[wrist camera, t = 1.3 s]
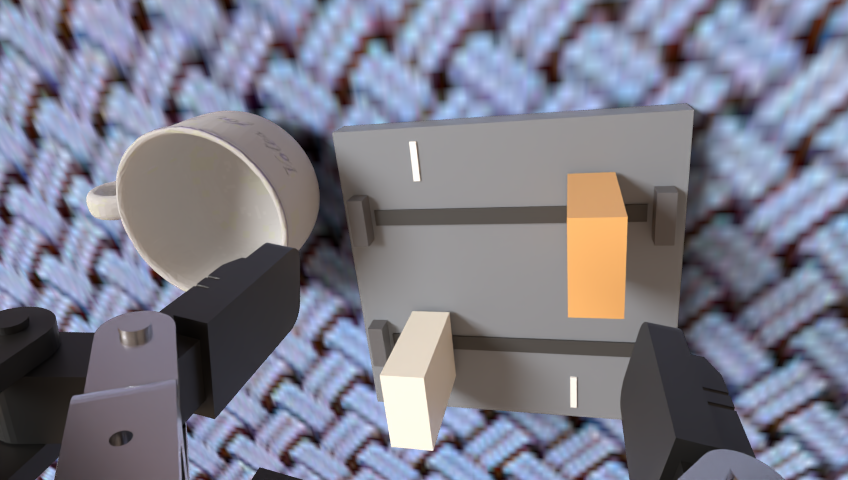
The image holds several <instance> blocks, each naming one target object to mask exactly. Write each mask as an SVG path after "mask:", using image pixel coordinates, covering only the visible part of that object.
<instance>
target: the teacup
mask: <svg viewBox="0 0 848 480" xmlns="http://www.w3.org/2000/svg"><path fill="white" fill-rule="evenodd" d="M319 202H320V194H319V185H318V181H317V177H316V173H315V171H314V168H313V166H312V164H311V162H310V160H309V158H308V156H307V155H306V153H305V152H304V150H303V149H302V147H301V146H300V145H299V144H298V143H297V141H296V140H295V139H294V138H293V137H292V136H291V135H290V134H288V133H287V132H286V131H285V130H284V129H282V128H281V127H279V126H278V125H276V124H275V123H273V122H271V121H269V120H267V119H265V118H263V117H260V116H258V115H255V114H251V113H247V112H241V111H219V112H212V113H208V114H204V115H201V116H197V117H194V118H191V119H188V120H185V121H183V122H180V123H177V124H175V125H172V126H168V127H162V128H159V129H156V130H153V131H151V132H148V133H146V134H144V135H142V136H140V137H139V138H138V139H137V140H136V141H135V142H134V143H133V144H132V145H131V146H130V147H129V148H128V149H127V150H126V152H125V153H124V155H123V157H122V158H121V162H120V164H119V167H118V171H117V178H116V181H114V182H110V183H106V184H103V185H100V186H98V187H96V188H94V189H92V190H91V191H90V192H89V193H88V195H87V205H88V208H89V211H90V212H91V214H92V215H93V216H94V217H95V218H98V219H102V220H119V219H121V220H122V223H123V226H124V228H125V230H126V232H127V234H128V236H129V238H130V239H131V241H132V242H133V245H134V247H135V248H136V249H137V251H138V252H139V254H140V255H141V257H142V258H143V259H144V260H145V261H146V263H147V264H148V265H149V266H150V267H151V268H152V269H153V270H155V271H156V272H157V273H158V274H159V275H160V276H162V277H163V278H164V279H166V280H167V281H168V282H170V283H171V284H172V285H174V286H176V287H178V288H179V289H181V290H183V291H185V292H186V291H188V290H189V289H190V288H192V287H193V286H196V285H197V283H198V282H200V281H201V280H202V279H204V278H205V277H206V278H208V275H209V274H211V273H212V272H213V271H215V270H216V269H217V268H219V267H220V266H221V265H223V264H226V263H228V262H231V261H234V260H236V259H239V258H242V257H243V258H247V257H248V256H249V255H250V254H252V253H253V252H254V251H256V250H257V249H258V248H259V247H261V246H262V245H263V244H265V243H272V244H277V245H282V246H287V247H292V248H296V249H297V250H298V251H299V250H300V248H301V247H302V246H303V245H304V243H305V242H306V240H307V239H308V237H309V235H310V234H311V232H312V230H313V228H314V225H315V223H316V220H317V216H318V212H319Z"/></svg>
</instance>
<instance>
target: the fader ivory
mask: <svg viewBox="0 0 848 480" xmlns="http://www.w3.org/2000/svg"><path fill="white" fill-rule="evenodd" d="M455 378H456V371H455V361H454V351H453V342H452V332H451V322H450V312H427V311H412V313H411V315H410V317H409V319H408V321H407V323H406V325H405V327H404V329H403V331H402V333H401V335H400V337H399V339H398V341H397V342H396V344H395V346H394V348H393V350H392V352H391V354H390V356H389V358H388V360H387V362H386V364H385V366H384V368H383V370H382V372H381V374H380V381H381V387H382V393H383V399H384V405H385V411H386V417H387V423H388V429H389V435H390V441H391V447H400V448H410V449H420V450H430V451H433V450H434V446H435V443H436V440H437V436H438V433H439V430H440V427H441V423H442V420H443V417H444V414H445V410H446V407H447V404H448V400H449V397H450V394H451V391H452V387H453V384H454V381H455Z"/></svg>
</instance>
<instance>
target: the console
mask: <svg viewBox="0 0 848 480" xmlns="http://www.w3.org/2000/svg"><path fill="white" fill-rule="evenodd" d="M693 117H694V109H693V108H691V107H690V106H689V105H688V104H687V103H685V104H670V105H655V106H640V107H625V108H610V109H595V110H580V111H565V112H550V113H535V114H520V115H505V116H490V117H475V118H460V119H445V120H430V121H415V122H400V123H384V124H369V125H354V126H344V127H342V128H340V129H338V130H336V131H334V132H333V133H332V136H333V141H334V147H335V153H336V159H337V165H338V171H339V177H340V182H341V188H342V194H343V200H344V206H345V212H346V218H347V223H348V229H349V235H350V241H351V247H352V253H353V259H354V264H355V270H356V276H357V282H358V288H359V294H360V300H361V305H362V311H363V317H364V323H365V329H366V335H367V341H368V346H369V352H370V358H371V364H372V370H373V376H374V382H375V387H376V393H377V399H378V401H382V402H384V399H383V393H382V387H381V381H380V374H381V372H382V370H383V368H384V366H385V364H386V362H387V360H388V358H389V356H390V354H391V352H392V350H393V348H394V346H395V344H396V342H397V341H398V339H399V337H400V335H401V333H402V331H403V329H404V327H405V325H406V323H407V321H408V319H409V317H410V315H411V313H412V311H427V312H450V322H451V332H452V342H453V351H454V361H455V371H456V378H455V381H454V384H453V387H452V391H451V394H450V397H449V400H448V404H447V406H448V407H461V408H475V409H488V410H501V411H515V412H528V413H541V414H554V415H568V416H581V417H594V418H608V419H621V420H622V417H621V409H620V397H621V389H622V384H623V380H624V376H625V373H626V370H627V367H628V364H629V361H630V358H631V354H632V351H633V348H634V345H635V342H636V339H637V336H638V333H639V330H640V327H641V325H642V324H643V323H644V322H649V323H654V324H659V325H664V326H669V327H673V328H677V326H678V313H679V300H680V287H681V274H682V261H683V248H684V234H685V221H686V208H687V195H688V182H689V169H690V156H691V143H692V130H693ZM601 172H615V173H616V176H617V180H618V184H619V187H620V191H621V195H622V198H623V202H624V206H625V209H626V213H627V216H628V222H627V251H626V280H625V310H624V319H605V318H571V317H568V273H567V174H575V173H601Z"/></svg>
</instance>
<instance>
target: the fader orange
mask: <svg viewBox="0 0 848 480" xmlns="http://www.w3.org/2000/svg"><path fill="white" fill-rule="evenodd" d="M627 222H628V216H627V213H626V209H625V206H624V202H623V198H622V195H621V191H620V187H619V184H618V180H617V176H616V173H615V172H601V173H575V174H567V273H568V317H571V318H605V319H624V310H625V280H626V251H627Z"/></svg>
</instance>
